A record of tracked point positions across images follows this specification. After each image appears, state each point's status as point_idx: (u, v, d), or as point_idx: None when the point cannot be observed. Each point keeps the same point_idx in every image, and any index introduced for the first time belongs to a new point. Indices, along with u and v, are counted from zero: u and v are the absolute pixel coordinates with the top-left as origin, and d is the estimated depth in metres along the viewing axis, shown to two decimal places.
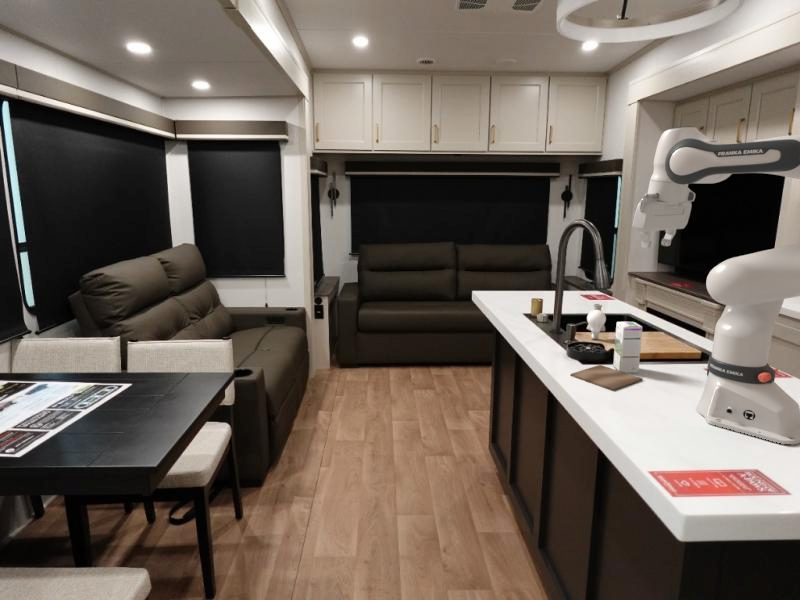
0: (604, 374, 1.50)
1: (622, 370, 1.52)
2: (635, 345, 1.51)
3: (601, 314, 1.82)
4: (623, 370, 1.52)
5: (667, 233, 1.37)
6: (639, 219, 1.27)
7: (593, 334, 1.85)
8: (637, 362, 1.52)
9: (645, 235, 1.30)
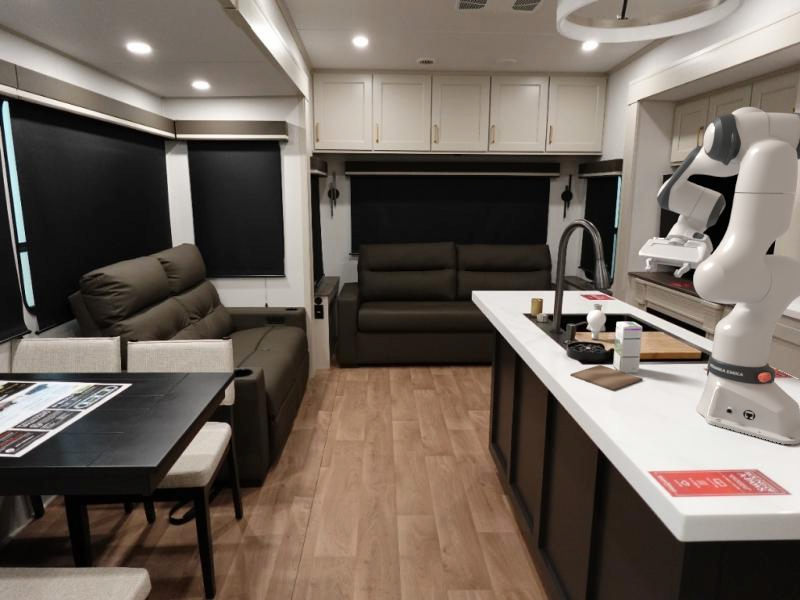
0: (604, 374, 1.50)
1: (622, 370, 1.52)
2: (635, 345, 1.51)
3: (601, 314, 1.82)
4: (623, 370, 1.52)
5: None
6: None
7: (593, 334, 1.85)
8: (637, 362, 1.52)
9: None
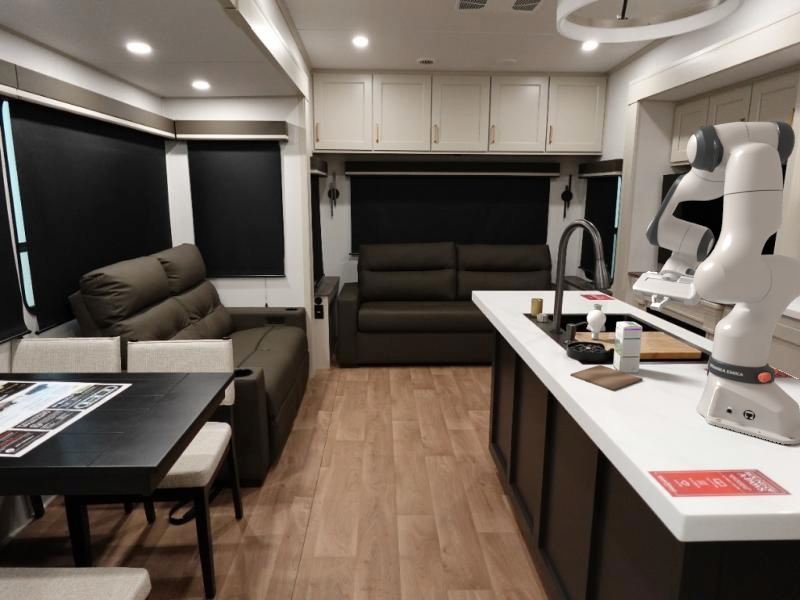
0: (604, 374, 1.50)
1: (622, 370, 1.52)
2: (635, 345, 1.51)
3: (601, 314, 1.82)
4: (623, 370, 1.52)
5: None
6: None
7: (593, 334, 1.85)
8: (637, 362, 1.52)
9: None
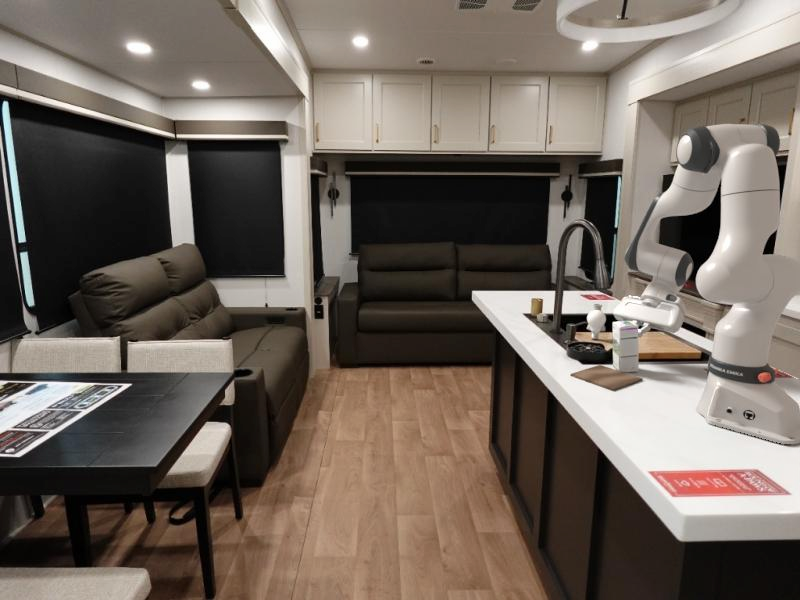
0: (604, 374, 1.50)
1: (622, 370, 1.52)
2: (632, 344, 1.51)
3: (601, 314, 1.82)
4: (623, 370, 1.52)
5: None
6: None
7: (593, 334, 1.85)
8: (636, 361, 1.52)
9: None
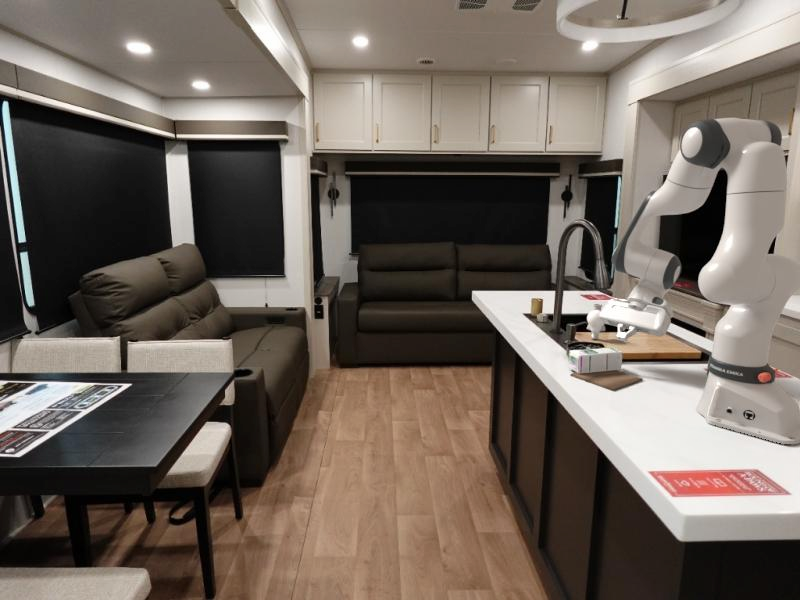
0: (604, 374, 1.50)
1: (619, 367, 1.52)
2: (596, 359, 1.50)
3: None
4: (619, 366, 1.52)
5: None
6: None
7: (593, 334, 1.85)
8: (612, 354, 1.51)
9: None
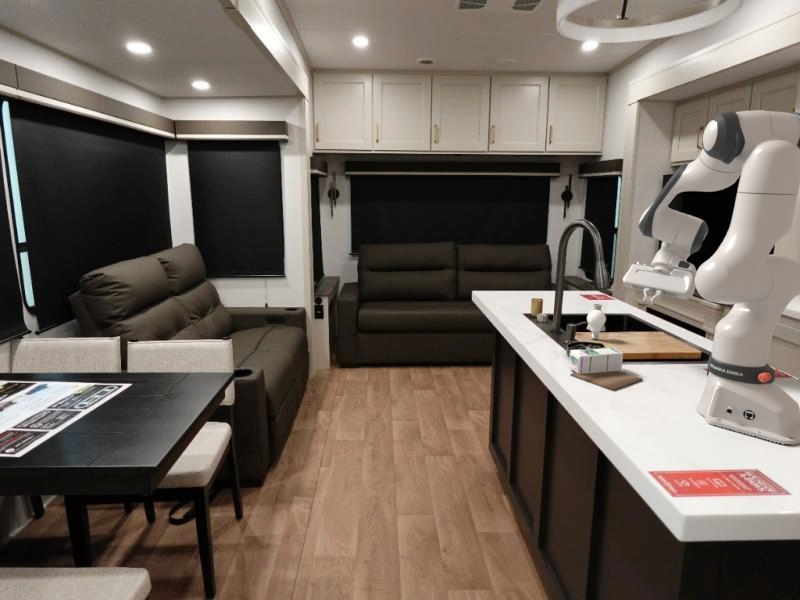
0: (604, 374, 1.50)
1: (619, 368, 1.52)
2: (596, 360, 1.50)
3: (601, 314, 1.82)
4: (619, 367, 1.52)
5: None
6: None
7: (593, 334, 1.85)
8: (613, 355, 1.51)
9: None
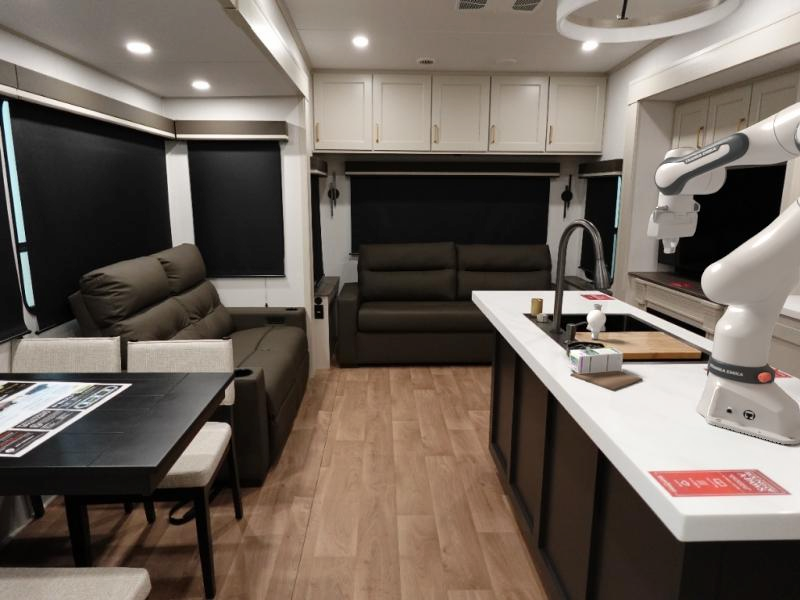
0: (604, 374, 1.50)
1: (619, 368, 1.52)
2: (596, 360, 1.50)
3: (601, 314, 1.82)
4: (619, 367, 1.52)
5: (671, 241, 1.53)
6: (653, 228, 1.45)
7: (593, 334, 1.85)
8: (613, 355, 1.51)
9: (667, 242, 1.50)
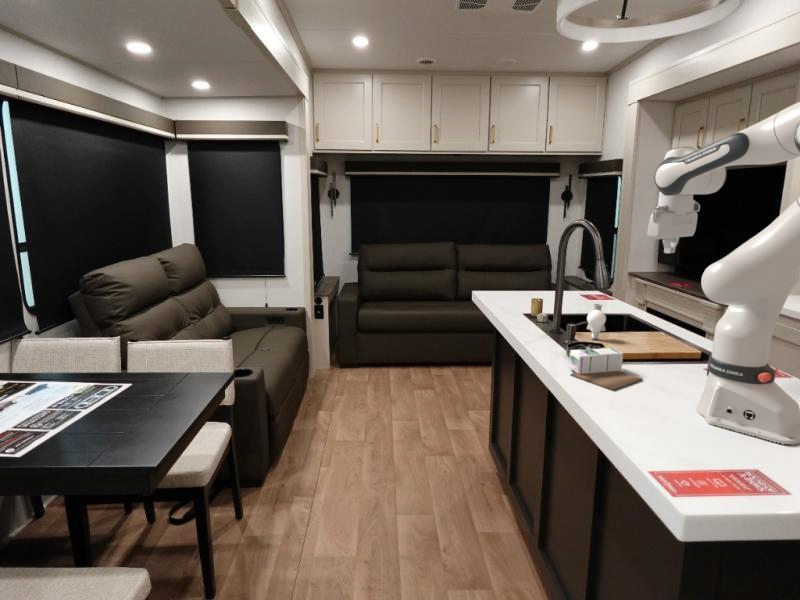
0: (604, 374, 1.50)
1: (619, 368, 1.52)
2: (596, 360, 1.50)
3: (601, 314, 1.82)
4: (619, 367, 1.52)
5: (671, 241, 1.53)
6: (653, 228, 1.45)
7: (593, 334, 1.85)
8: (613, 355, 1.51)
9: (667, 242, 1.50)
